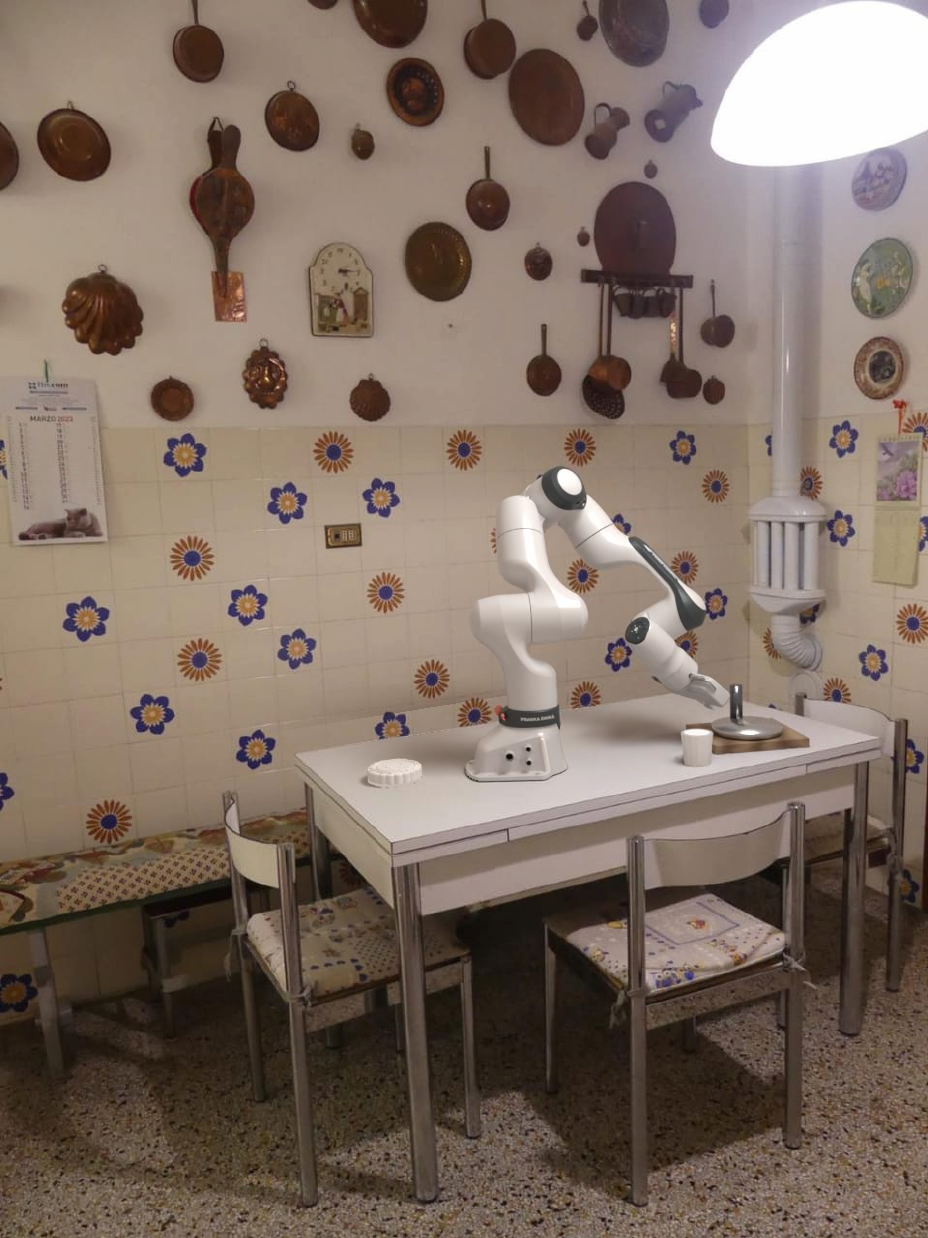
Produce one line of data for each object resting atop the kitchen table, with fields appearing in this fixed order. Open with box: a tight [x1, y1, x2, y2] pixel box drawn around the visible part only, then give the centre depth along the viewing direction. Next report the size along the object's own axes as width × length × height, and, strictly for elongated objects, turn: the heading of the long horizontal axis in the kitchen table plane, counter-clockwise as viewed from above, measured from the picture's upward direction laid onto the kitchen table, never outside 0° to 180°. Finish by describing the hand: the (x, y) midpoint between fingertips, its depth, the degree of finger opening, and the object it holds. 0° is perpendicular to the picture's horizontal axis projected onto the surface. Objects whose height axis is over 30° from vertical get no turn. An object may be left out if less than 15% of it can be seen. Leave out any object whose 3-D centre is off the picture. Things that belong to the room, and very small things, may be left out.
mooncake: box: [366, 757, 423, 785], centre depth 207 cm, size 12×12×4 cm
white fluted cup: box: [680, 729, 713, 768], centre depth 207 cm, size 7×7×7 cm
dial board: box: [685, 717, 810, 755], centre depth 223 cm, size 22×20×2 cm
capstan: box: [712, 683, 784, 740], centre depth 222 cm, size 16×16×10 cm
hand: (713, 707), depth 226 cm, fingers closed
